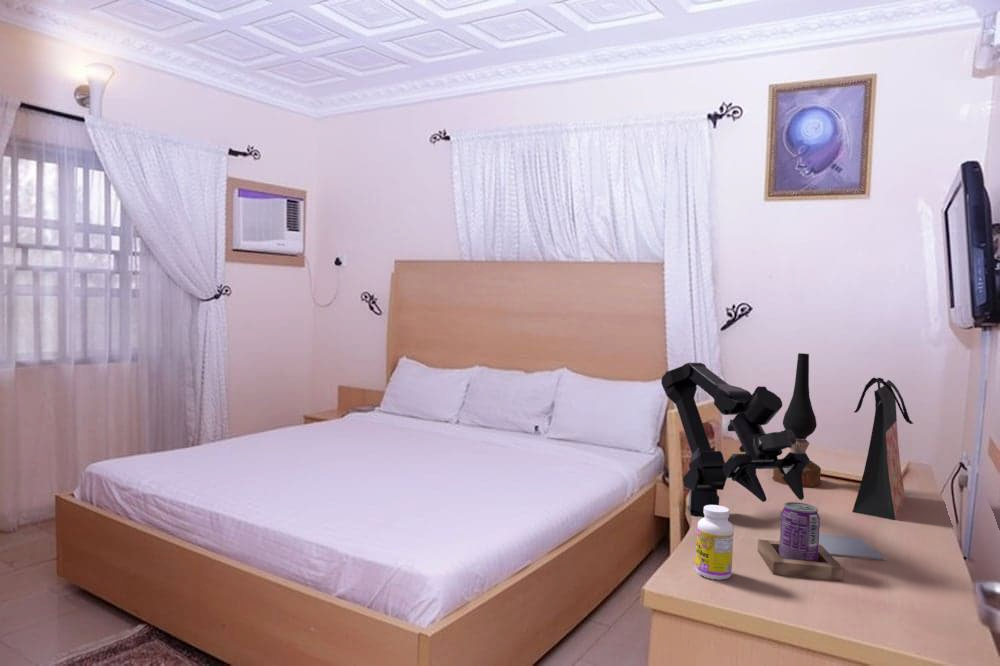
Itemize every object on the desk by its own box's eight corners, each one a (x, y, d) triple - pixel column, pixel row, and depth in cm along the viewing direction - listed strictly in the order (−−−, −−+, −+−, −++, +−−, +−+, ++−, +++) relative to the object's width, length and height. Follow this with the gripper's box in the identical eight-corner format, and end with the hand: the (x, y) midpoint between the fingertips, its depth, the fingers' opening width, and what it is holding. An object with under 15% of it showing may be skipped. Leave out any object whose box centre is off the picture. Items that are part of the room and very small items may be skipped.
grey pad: (819, 554, 139) (819, 552, 139) (800, 533, 152) (800, 532, 152) (885, 560, 138) (885, 558, 138) (860, 538, 150) (860, 537, 150)
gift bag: (855, 490, 194) (862, 371, 193) (912, 499, 186) (920, 376, 184) (837, 512, 170) (845, 378, 169) (901, 525, 162) (910, 383, 160)
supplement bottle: (689, 567, 130) (693, 502, 129) (722, 567, 130) (725, 503, 130) (703, 581, 123) (706, 513, 123) (737, 581, 124) (740, 513, 123)
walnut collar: (773, 574, 128) (773, 561, 128) (757, 550, 140) (758, 539, 140) (842, 580, 126) (842, 567, 126) (820, 556, 138) (820, 544, 138)
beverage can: (814, 561, 135) (818, 504, 135) (819, 574, 128) (822, 513, 128) (777, 556, 138) (780, 499, 137) (779, 568, 131) (783, 508, 130)
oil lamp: (779, 484, 210) (766, 360, 217) (831, 485, 201) (816, 355, 208) (767, 487, 199) (754, 356, 206) (822, 488, 190) (806, 351, 197)
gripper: (733, 416, 139) (765, 481, 129) (806, 415, 145) (842, 478, 134) (710, 445, 147) (738, 509, 137) (780, 444, 152) (812, 505, 142)
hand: (783, 500), depth 137 cm, fingers open, 9 cm apart
